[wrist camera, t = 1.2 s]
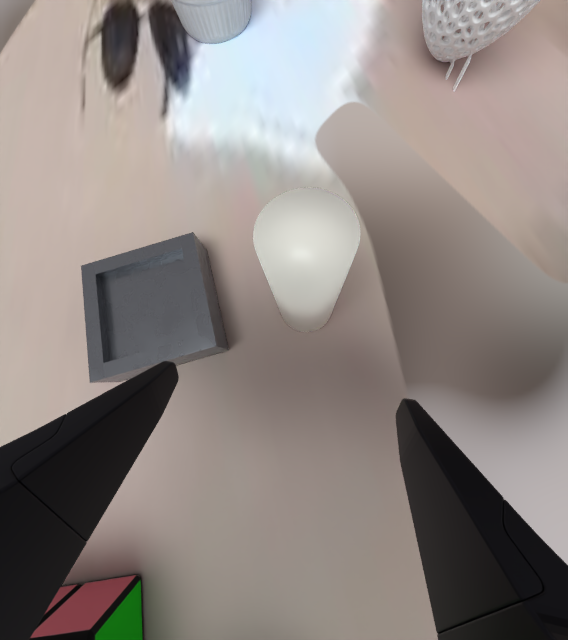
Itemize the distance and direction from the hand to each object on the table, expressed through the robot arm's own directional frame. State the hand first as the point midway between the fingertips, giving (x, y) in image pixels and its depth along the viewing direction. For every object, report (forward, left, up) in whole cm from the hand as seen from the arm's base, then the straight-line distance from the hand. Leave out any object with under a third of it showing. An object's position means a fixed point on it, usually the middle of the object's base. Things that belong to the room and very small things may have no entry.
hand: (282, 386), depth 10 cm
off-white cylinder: (+4, -6, -13) cm, 15 cm away
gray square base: (+14, +5, -13) cm, 20 cm away
